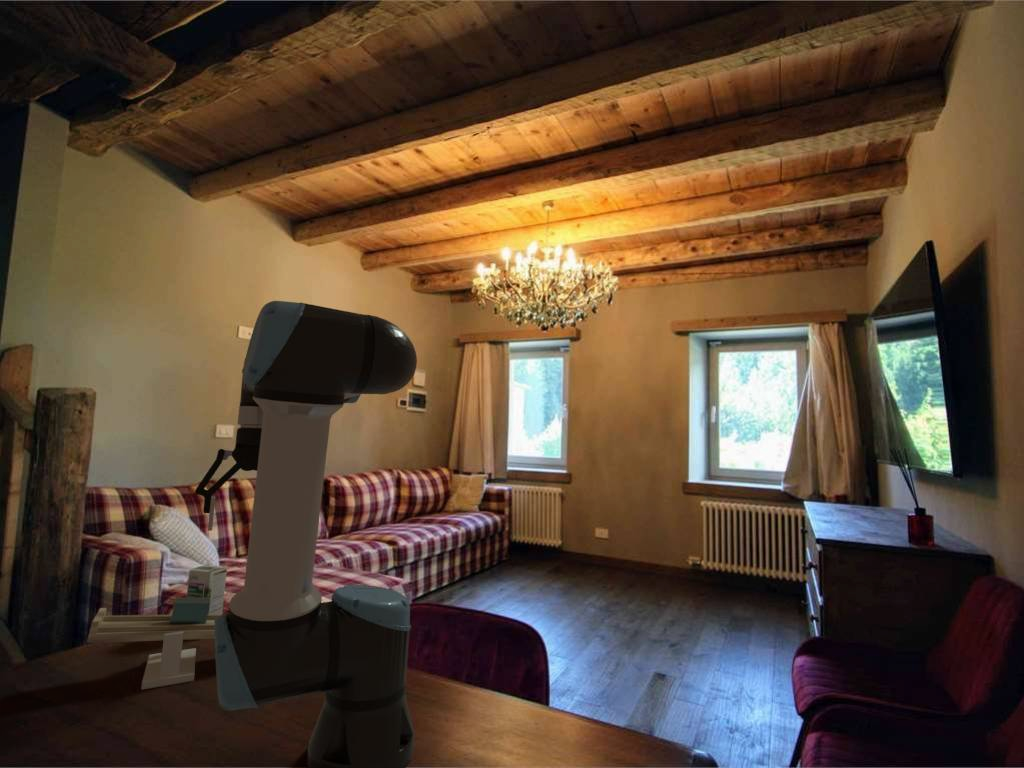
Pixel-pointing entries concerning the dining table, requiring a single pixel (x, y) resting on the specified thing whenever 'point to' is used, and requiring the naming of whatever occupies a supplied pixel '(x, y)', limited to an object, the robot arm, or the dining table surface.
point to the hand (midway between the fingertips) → (247, 528)
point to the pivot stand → (170, 663)
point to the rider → (190, 610)
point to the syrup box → (208, 585)
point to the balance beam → (145, 628)
